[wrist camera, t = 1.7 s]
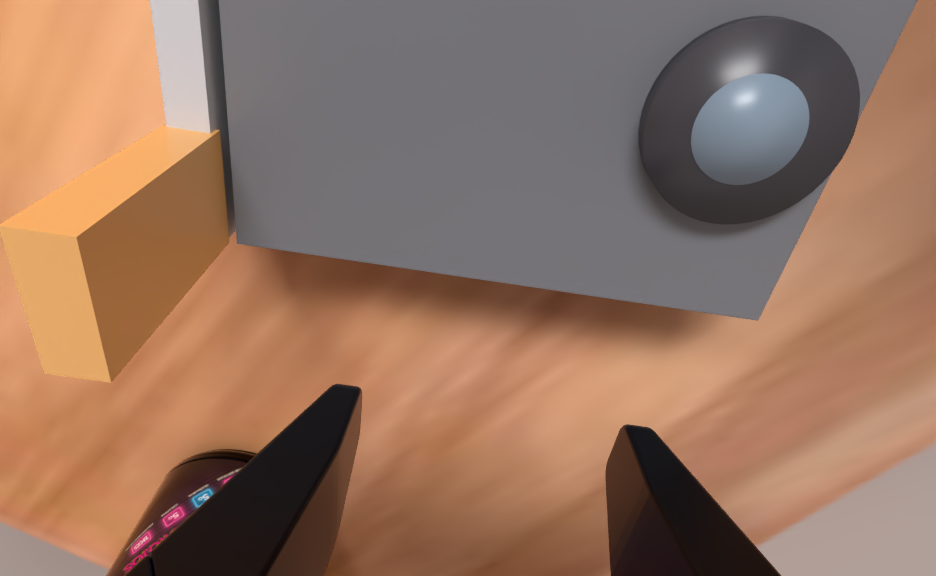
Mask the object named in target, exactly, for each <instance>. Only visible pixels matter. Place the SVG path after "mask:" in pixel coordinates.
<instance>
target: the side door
mask: <svg viewBox="0 0 936 576" xmlns="http://www.w3.org/2000/svg"><path fill="white" fill-rule="evenodd" d="M150 5H151V13H152V20H153V28H154V36H155V43H156V51H157V58H158V66H159V73H160V81H161V88H162V96H163V104H164V111H165V119H166V124H164V125H163V126H161V127H160V128H158V129H156V130H155V131H153V132H151V133H150V134H148V135H146V136H145V137H143V138H141V139H140V140H138V141H136V142H135V143H133V144H131V145H130V146H128V147H127V148H125V149H123V150H122V151H120V152H118V153H117V154H115V155H113V156H112V157H110V158H108V159H107V160H105V161H103V162H102V163H100V164H98V165H97V166H95V167H94V168H92V169H90V170H89V171H87V172H85V173H84V174H82V175H80V176H79V177H77V178H75V179H74V180H72V181H70V182H69V183H67V184H65V185H64V186H62V187H61V188H59V189H57V190H56V191H54V192H52V193H51V194H49V195H47V196H46V197H44V198H42V199H41V200H39V201H37V202H36V203H34V204H32V205H31V206H29V207H28V208H26V209H24V210H23V211H21V212H19V213H18V214H16V215H14V216H13V217H11V218H9V219H8V220H6V221H4V222H3V223H1V224H0V235H1V238H2V241H3V244H4V248H5V251H6V254H7V257H8V260H9V263H10V267H11V270H12V273H13V276H14V279H15V282H16V286H17V289H18V292H19V295H20V298H21V301H22V305H23V308H24V311H25V314H26V317H27V320H28V324H29V327H30V330H31V333H32V336H33V339H34V343H35V346H36V349H37V352H38V355H39V358H40V362H41V365H42V368H43V371H44V373H45V374H52V375H59V376H67V377H74V378H81V379H88V380H96V381H103V382H110V383H111V382H112V381H113V380H114V379H115V377H116V376H117V375H118V374H119V373H120V372H121V370H122V369H123V368H124V367H125V366H126V364H127V363H128V362H129V361H130V360H131V358H132V357H133V356H134V355H135V354H136V353H137V351H138V350H139V349H140V348H141V347H142V345H143V344H144V343H145V342H146V341H147V340H148V338H149V337H150V336H151V335H152V334H153V332H154V331H155V330H156V329H157V328H158V327H159V325H160V324H161V323H162V322H163V321H164V319H165V318H166V317H167V316H168V315H169V313H170V312H171V311H172V310H173V309H174V308H175V306H176V305H177V304H178V303H179V302H180V300H181V299H182V298H183V297H184V296H185V295H186V293H187V292H188V291H189V290H190V289H191V287H192V286H193V285H194V284H195V283H196V281H197V280H198V279H199V278H200V277H201V276H202V274H203V273H204V272H205V271H206V270H207V268H208V267H209V266H210V265H211V264H212V263H213V261H214V260H215V259H216V258H217V257H218V255H219V254H220V253H221V252H222V251H223V249H224V248H225V247H226V246H227V245H228V244H229V237H230V236H231V235H232V234H233V233H234V232H235V230H236V223H235V210H234V196H233V183H232V170H231V157H230V143H229V130H228V117H227V104H226V90H225V77H224V64H223V51H222V38H221V24H220V11H219V0H150Z"/></svg>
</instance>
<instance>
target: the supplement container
mask: <svg viewBox="0 0 936 576" xmlns="http://www.w3.org/2000/svg"><path fill="white" fill-rule="evenodd" d="M255 455H257V454H255V453H251V452H246V451H241V450H229V449H223V450H212V451H207V452H203V453H199V454H196V455H194V456H191V457H189V458H187V459H185V460H183V461H182V462H180V463H179V464H178V465H176V466H175V467H174V468H173V469H171V470H170V472H169V473H168V474H167V475H166V477H165V478H164V480H163V482H162V483H161V485H160V487H159V488H158V490H157V492H156V493H155V495H154V497H153V498H152V500H151V502H150V503H149V505H148V507H147V508H146V510H145V512H144V513H143V515H142V516H141V518H140V520H139V521H138V523H137V525H136V526H135V528H134V530H133V531H132V533H131V535H130V536H129V538H128V540H127V541H126V543H125V545H124V546H123V548H122V550H121V551H120V553H119V555H118V556H117V558H116V560H115V561H114V563H113V565H112V566H111V568H110V570H109V571H108V573H107V575H106V576H124V575H125V574H126V573H127V572H128V571H129V570H130V569H131V568H133V567H134V566H135V565H136V564H137V563H138V562H139V561H140V560H141V559H142V558H143V557H145V556H150V557H151V551H152V550H153V549H154V548H155V547H156V546H157V545H158V544H159V543H160V542H161V541H162V540H164V539H165V538H166V537H167V536H168V535H169V534H170V533H171V532H172V531H173V530H175V529H176V528H177V527H178V526H179V525H180V524H181V523H182V522H183V521H184V520H185V519H187V518H188V517H189V516H190V515H191V514H192V513H193V512H194V511H195V510H196V509H198V508H199V507H200V506H201V505H202V504H203V503H204V502H205V501H206V500H207V499H208V498H210V497H211V496H212V495H213V494H214V493H215V492H216V491H217V490H218V489H219V488H220V487H222V486H223V485H224V484H225V483H226V482H227V481H228V480H229V479H230V478H231V477H233V476H234V475H235V474H236V473H237V472H238V471H239V470H240V469H241V468H242V467H243V466H245V465H246V464H247V463H248V462H249V461H250V460H251V459H252V458H253V457H254V456H255Z"/></svg>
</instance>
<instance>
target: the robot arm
mask: <svg viewBox="0 0 936 576" xmlns="http://www.w3.org/2000/svg"><path fill="white" fill-rule="evenodd" d="M361 408H362V390H361V388H359V387H357V386H350V385H342V384H335V385H332V386H331V387H330V388H329V389H328V390H327V391H326V392H324V393H323V394H322V395H321V396H320V397H319V398H318V399H317V400H316V401H315V402H313V403H312V404H311V405H310V406H309V407H308V408H307V409H306V410H305V411H304V412H303V413H301V414H300V415H299V416H298V417H297V418H296V419H295V420H294V421H293V422H292V423H291V424H289V425H288V426H287V427H286V428H285V429H284V430H283V431H282V432H281V433H280V434H278V435H277V436H276V437H275V438H274V439H273V440H272V441H271V442H270V443H269V444H268V445H266V446H265V447H264V448H263V449H262V450H261V451H260V452H259V453H258V454H257V455H255V456H254V457H253V458H252V459H251V460H250V461H249V462H248V463H247V464H246V465H245V466H243V467H242V468H241V469H240V470H239V471H238V472H237V473H236V474H235V475H234V476H233V477H231V478H230V479H229V480H228V481H227V482H226V483H225V484H224V485H223V486H222V487H220V488H219V489H218V490H217V491H216V492H215V493H214V494H213V495H212V496H211V497H210V498H208V499H207V500H206V501H205V502H204V503H203V504H202V505H201V506H200V507H199V508H198V509H196V510H195V511H194V512H193V513H192V514H191V515H190V516H189V517H188V518H187V519H185V520H184V521H183V522H182V523H181V524H180V525H179V526H178V527H177V528H176V529H175V530H173V531H172V532H171V533H170V534H169V535H168V536H167V537H166V538H165V539H164V540H162V541H161V542H160V543H159V544H158V545H157V546H156V547H155V548H154V549H153V550H152V551H151V557H150V556H145V557H143V558H142V559H141V560H140V561H139V562H138V563H137V564H136V565H135V566H134V567H133V568H131V569H130V570H129V571H128V572H127V573H126V574H125V575H124V576H324V574H325V571H326V568H327V566H328V563H329V560H330V557H331V554H332V551H333V548H334V544H335V541H336V538H337V534H338V530H339V526H340V522H341V518H342V513H343V508H344V504H345V499H346V495H347V490H348V486H349V481H350V477H351V472H352V468H353V463H354V459H355V454H356V450H357V445H358V440H359V434H360V424H361ZM606 495H607V514H608V533H609V552H610V568H611V576H781V575H780V574H779V573H778V572H777V570H776V569H775V568H774V567H773V566H772V565H771V563H770V562H769V561H768V560H767V559H766V558H765V557H764V555H763V554H762V553H761V552H760V551H759V550H758V549H757V547H756V546H755V545H754V544H753V543H752V542H751V541H750V540H749V538H748V537H747V536H746V535H745V534H744V533H743V532H742V530H741V529H740V528H739V527H738V526H737V525H736V524H735V522H734V521H733V520H732V519H731V518H730V517H729V516H728V514H727V513H726V512H725V511H724V510H723V509H722V508H721V507H720V505H719V504H718V503H717V502H716V501H715V500H714V499H713V497H712V496H711V495H710V494H709V493H708V492H707V491H706V489H705V488H704V487H703V486H702V485H701V484H700V483H699V482H698V480H697V479H696V478H695V477H694V476H693V475H692V474H691V472H690V471H689V470H688V469H687V468H686V467H685V466H684V464H683V463H682V462H681V461H680V460H679V459H678V458H677V456H676V455H675V454H674V453H673V452H672V451H671V450H670V449H669V447H668V446H667V445H666V444H665V443H664V442H663V441H662V439H661V438H660V437H659V436H658V435H657V434H656V433H655V432H654V431H653V430H652V429H651V428H648V427H642V426H635V425H624V426H623V427H622V428H621V429H620V431H619V433H618V436H617V438H616V441H615V443H614V446H613V449H612V451H611V454H610V456H609V459H608V462H607V466H606Z"/></svg>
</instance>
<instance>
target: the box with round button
mask: <svg viewBox="0 0 936 576" xmlns="http://www.w3.org/2000/svg"><path fill="white" fill-rule="evenodd" d="M917 1H918V0H219V11H220V24H221V38H222V51H223V64H224V77H225V90H226V104H227V117H228V130H229V143H230V157H231V170H232V183H233V196H234V210H235V223H236V236H237V244H243V245H250V246H256V247H263V248H270V249H277V250H284V251H290V252H297V253H304V254H311V255H317V256H324V257H331V258H338V259H345V260H351V261H358V262H365V263H372V264H378V265H385V266H392V267H399V268H405V269H412V270H419V271H426V272H433V273H439V274H446V275H453V276H460V277H466V278H473V279H480V280H487V281H494V282H500V283H507V284H514V285H521V286H527V287H534V288H541V289H548V290H555V291H561V292H568V293H575V294H582V295H588V296H595V297H602V298H609V299H615V300H622V301H629V302H636V303H643V304H649V305H656V306H663V307H670V308H676V309H683V310H690V311H697V312H704V313H710V314H717V315H724V316H731V317H737V318H744V319H751V320H758V319H759V317H760V315H761V313H762V311H763V309H764V307H765V305H766V303H767V301H768V299H769V297H770V295H771V293H772V291H773V289H774V287H775V285H776V283H777V281H778V279H779V277H780V275H781V273H782V271H783V269H784V267H785V265H786V263H787V261H788V259H789V257H790V255H791V253H792V251H793V249H794V247H795V245H796V243H797V241H798V239H799V237H800V235H801V233H802V231H803V229H804V227H805V225H806V223H807V221H808V219H809V217H810V215H811V213H812V211H813V209H814V207H815V205H816V203H817V201H818V199H819V197H820V195H821V193H822V191H823V189H824V187H825V185H826V183H827V181H828V179H829V177H830V175H831V173H832V171H833V170H834V169H835V167H836V166H837V165H838V163H839V162H840V160H841V159H842V157H843V155H844V154H845V152H846V150H847V148H848V146H849V144H850V142H851V139H852V137H853V135H854V132H855V128H856V125H857V121H858V119H859V117H860V115H861V113H862V111H863V109H864V107H865V105H866V103H867V101H868V99H869V97H870V95H871V93H872V91H873V89H874V87H875V85H876V83H877V81H878V79H879V77H880V75H881V73H882V71H883V69H884V67H885V65H886V63H887V61H888V59H889V57H890V55H891V53H892V51H893V49H894V47H895V45H896V43H897V41H898V39H899V37H900V35H901V33H902V31H903V29H904V27H905V25H906V23H907V21H908V19H909V17H910V15H911V13H912V11H913V9H914V7H915V5H916V3H917Z"/></svg>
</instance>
